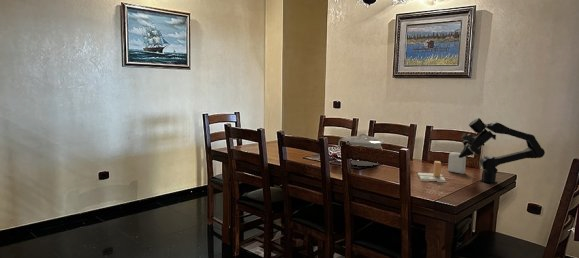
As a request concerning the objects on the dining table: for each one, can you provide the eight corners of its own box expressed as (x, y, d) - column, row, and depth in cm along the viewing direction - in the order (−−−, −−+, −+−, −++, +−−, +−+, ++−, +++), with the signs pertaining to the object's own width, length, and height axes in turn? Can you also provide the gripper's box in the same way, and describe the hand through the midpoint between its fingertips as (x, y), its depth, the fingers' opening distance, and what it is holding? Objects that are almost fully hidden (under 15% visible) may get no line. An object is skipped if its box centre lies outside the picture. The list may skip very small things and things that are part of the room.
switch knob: (438, 176, 231) (439, 161, 230) (440, 178, 227) (441, 162, 225) (433, 176, 232) (434, 160, 230) (434, 178, 227) (435, 162, 226)
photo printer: (446, 171, 249) (448, 151, 247) (450, 170, 252) (451, 151, 250) (462, 174, 241) (464, 154, 240) (466, 173, 244) (467, 153, 242)
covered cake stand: (392, 168, 254) (393, 136, 251) (353, 170, 245) (354, 137, 243) (370, 159, 280) (371, 130, 277) (334, 161, 272) (335, 131, 269)
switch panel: (440, 176, 235) (440, 173, 235) (445, 182, 222) (445, 179, 222) (417, 175, 238) (417, 172, 237) (421, 181, 224) (421, 178, 224)
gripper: (467, 126, 231) (445, 144, 235) (476, 130, 213) (452, 149, 217) (480, 140, 231) (458, 158, 235) (490, 145, 213) (467, 164, 216)
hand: (459, 157), depth 225 cm, fingers closed
